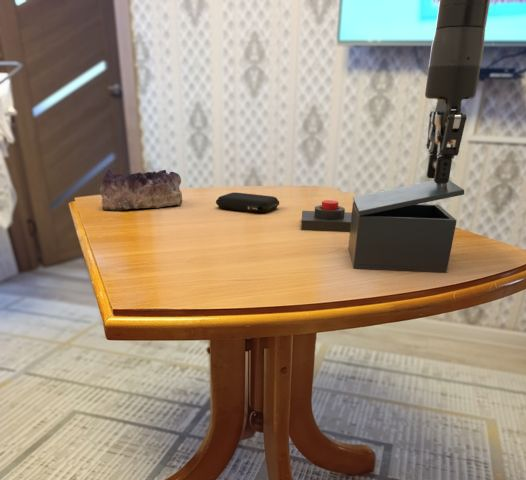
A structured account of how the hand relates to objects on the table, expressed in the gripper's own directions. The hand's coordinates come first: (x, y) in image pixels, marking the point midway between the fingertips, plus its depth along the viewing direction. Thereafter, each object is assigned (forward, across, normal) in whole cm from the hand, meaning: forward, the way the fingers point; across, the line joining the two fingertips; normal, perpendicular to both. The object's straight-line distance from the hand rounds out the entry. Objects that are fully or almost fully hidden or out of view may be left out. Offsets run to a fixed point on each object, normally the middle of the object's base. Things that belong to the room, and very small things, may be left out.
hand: (436, 179), depth 85 cm
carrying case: (+14, +39, +36) cm, 55 cm away
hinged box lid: (+3, 0, +5) cm, 6 cm away
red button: (+10, +24, +16) cm, 31 cm away
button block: (+14, +24, +16) cm, 32 cm away
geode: (+13, +37, +63) cm, 74 cm away
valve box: (+14, 0, +5) cm, 15 cm away
